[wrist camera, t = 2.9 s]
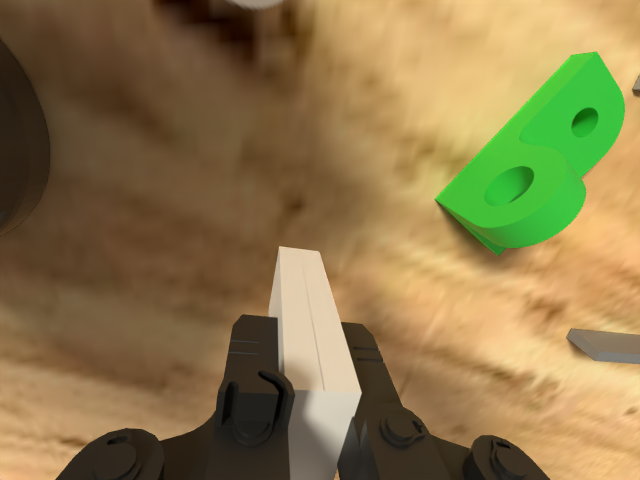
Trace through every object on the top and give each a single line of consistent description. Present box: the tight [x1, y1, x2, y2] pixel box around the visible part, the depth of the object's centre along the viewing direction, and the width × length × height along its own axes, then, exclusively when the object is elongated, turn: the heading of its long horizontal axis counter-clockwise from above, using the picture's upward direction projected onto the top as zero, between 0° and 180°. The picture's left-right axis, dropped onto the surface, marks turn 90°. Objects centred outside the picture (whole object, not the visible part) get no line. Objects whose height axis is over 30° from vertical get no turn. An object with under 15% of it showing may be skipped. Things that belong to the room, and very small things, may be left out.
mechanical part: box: [435, 52, 625, 256], centre depth 20 cm, size 12×6×8 cm, turn 139°
